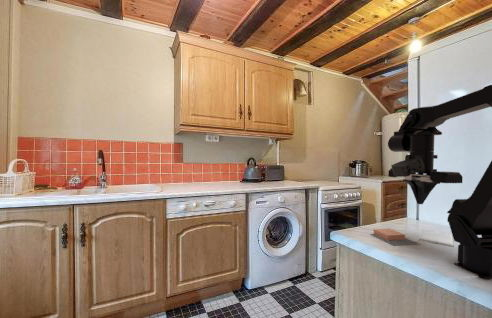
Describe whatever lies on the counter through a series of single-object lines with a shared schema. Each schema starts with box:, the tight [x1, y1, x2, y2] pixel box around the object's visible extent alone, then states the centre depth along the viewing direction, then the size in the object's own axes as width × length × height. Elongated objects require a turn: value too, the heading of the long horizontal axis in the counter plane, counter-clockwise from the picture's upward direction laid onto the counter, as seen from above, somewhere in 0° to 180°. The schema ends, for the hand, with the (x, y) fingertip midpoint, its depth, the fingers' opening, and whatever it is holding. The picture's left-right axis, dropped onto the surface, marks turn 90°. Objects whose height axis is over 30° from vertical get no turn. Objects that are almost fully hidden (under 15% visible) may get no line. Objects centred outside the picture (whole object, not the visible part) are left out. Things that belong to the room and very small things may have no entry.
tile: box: [373, 228, 406, 241], centre depth 73 cm, size 2×6×6 cm
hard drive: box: [418, 228, 455, 248], centre depth 73 cm, size 2×8×12 cm
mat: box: [369, 233, 421, 247], centre depth 72 cm, size 10×9×1 cm
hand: (419, 204), depth 68 cm, fingers closed
